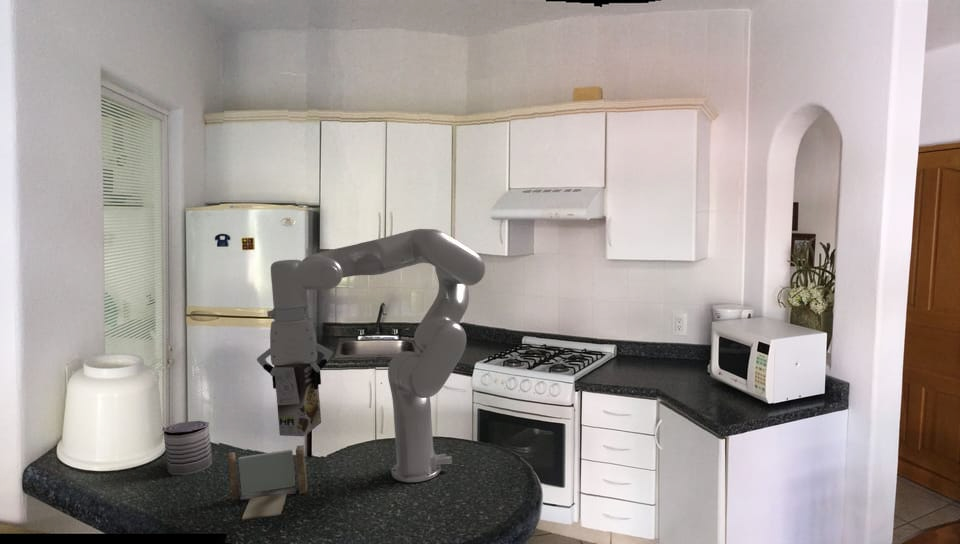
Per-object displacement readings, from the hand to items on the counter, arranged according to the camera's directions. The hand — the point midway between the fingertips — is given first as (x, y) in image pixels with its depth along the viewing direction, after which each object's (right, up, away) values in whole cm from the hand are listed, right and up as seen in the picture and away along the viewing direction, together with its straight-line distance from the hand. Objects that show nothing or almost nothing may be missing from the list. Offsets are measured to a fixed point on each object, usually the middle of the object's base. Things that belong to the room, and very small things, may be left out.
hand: (297, 389), depth 147 cm
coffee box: (+1, -10, +1) cm, 10 cm away
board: (-8, -28, +3) cm, 30 cm away
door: (-10, -26, +10) cm, 30 cm away
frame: (-10, -28, +10) cm, 31 cm away
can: (-38, -27, +29) cm, 55 cm away
